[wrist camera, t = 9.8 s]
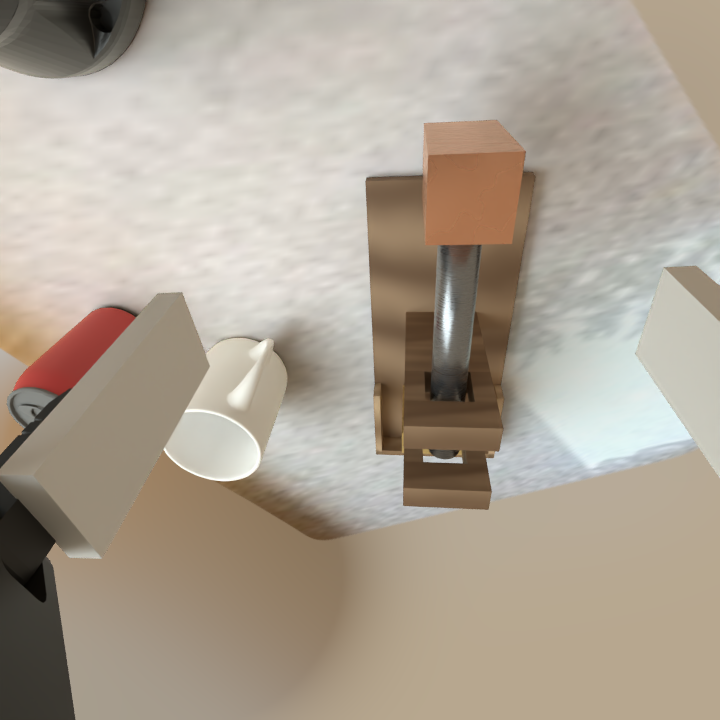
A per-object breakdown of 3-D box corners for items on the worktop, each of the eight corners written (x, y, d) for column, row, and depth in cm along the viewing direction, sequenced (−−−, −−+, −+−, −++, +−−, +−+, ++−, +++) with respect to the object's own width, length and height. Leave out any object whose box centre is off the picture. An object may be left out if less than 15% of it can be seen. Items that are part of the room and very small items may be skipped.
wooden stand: (366, 177, 34) (341, 260, 22) (532, 172, 32) (603, 256, 20) (378, 433, 50) (367, 563, 38) (489, 436, 48) (515, 572, 36)
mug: (322, 341, 43) (300, 419, 34) (266, 413, 49) (235, 494, 41) (241, 293, 41) (196, 363, 32) (194, 375, 47) (145, 452, 38)
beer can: (89, 294, 42) (-6, 372, 33) (159, 319, 43) (86, 402, 34) (88, 346, 46) (2, 430, 36) (152, 368, 47) (85, 455, 37)
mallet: (424, 123, 25) (428, 154, 19) (496, 119, 25) (525, 151, 19) (416, 406, 38) (417, 483, 32) (464, 407, 38) (475, 485, 31)
